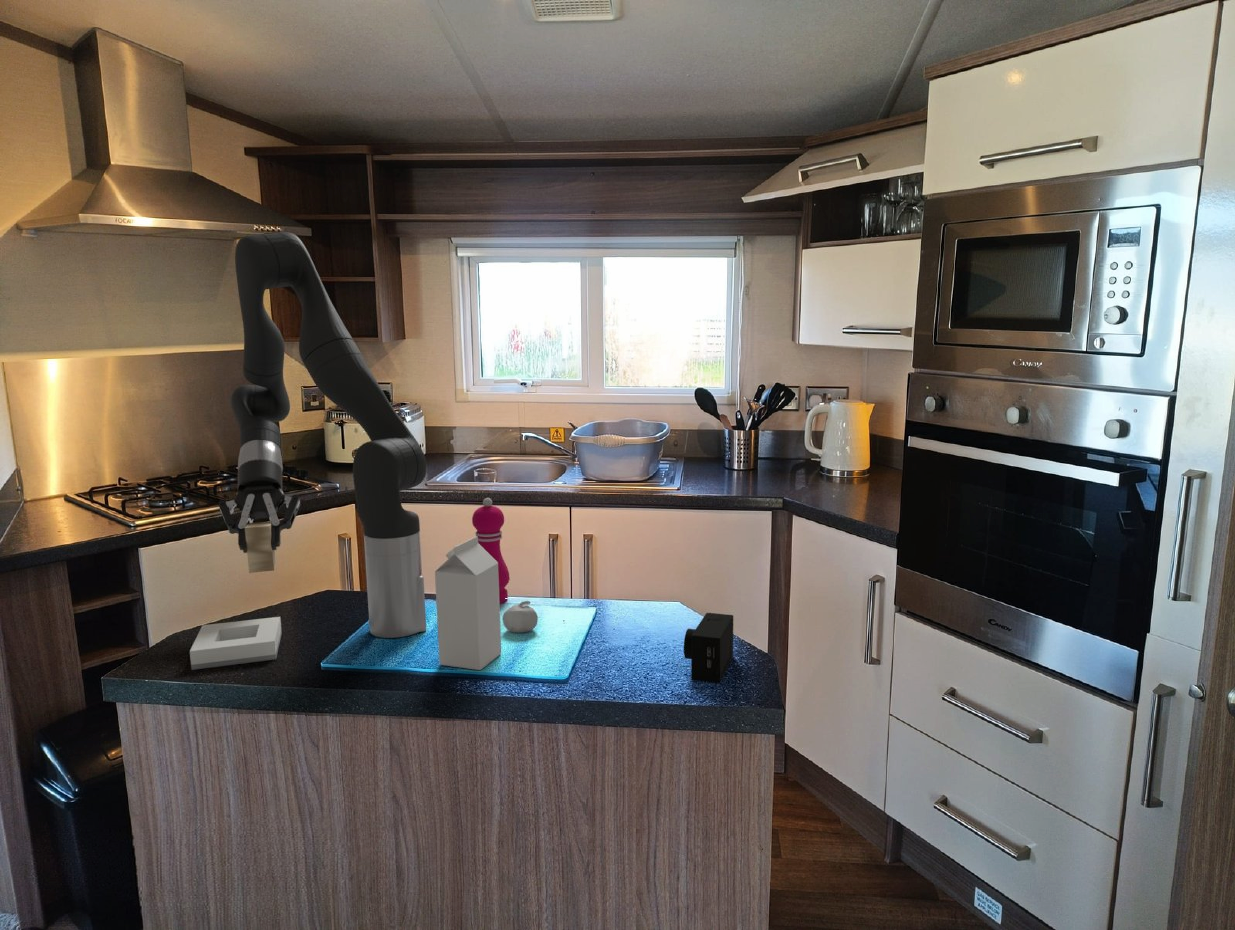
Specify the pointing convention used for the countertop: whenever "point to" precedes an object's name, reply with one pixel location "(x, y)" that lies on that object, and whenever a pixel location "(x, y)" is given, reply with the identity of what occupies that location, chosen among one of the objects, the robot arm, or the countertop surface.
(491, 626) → the milk carton
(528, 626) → the garlic
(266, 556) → the block
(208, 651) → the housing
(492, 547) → the pepper mill
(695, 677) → the digital camera
